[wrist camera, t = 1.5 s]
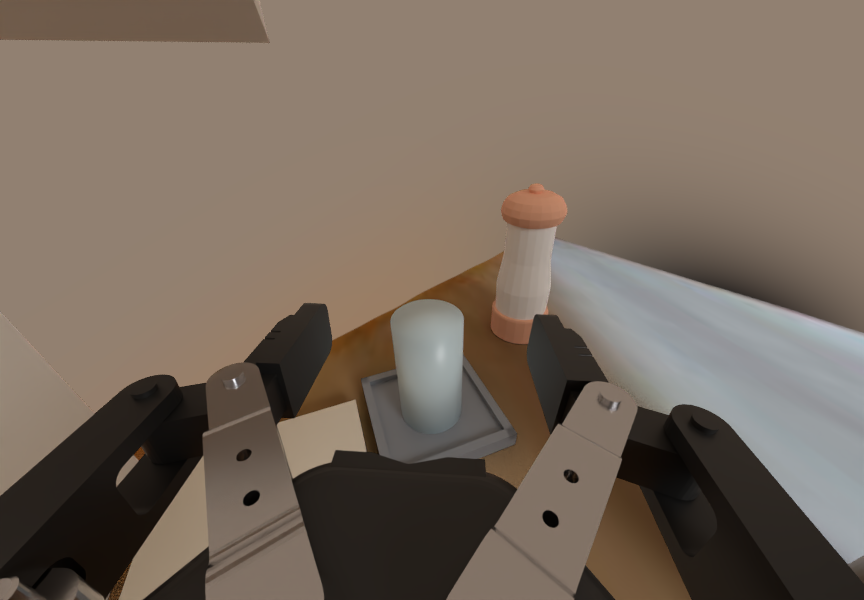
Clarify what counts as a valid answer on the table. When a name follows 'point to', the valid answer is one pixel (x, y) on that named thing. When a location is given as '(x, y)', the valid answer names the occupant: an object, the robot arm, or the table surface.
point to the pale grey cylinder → (429, 363)
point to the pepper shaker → (526, 261)
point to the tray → (468, 438)
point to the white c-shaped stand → (36, 379)
